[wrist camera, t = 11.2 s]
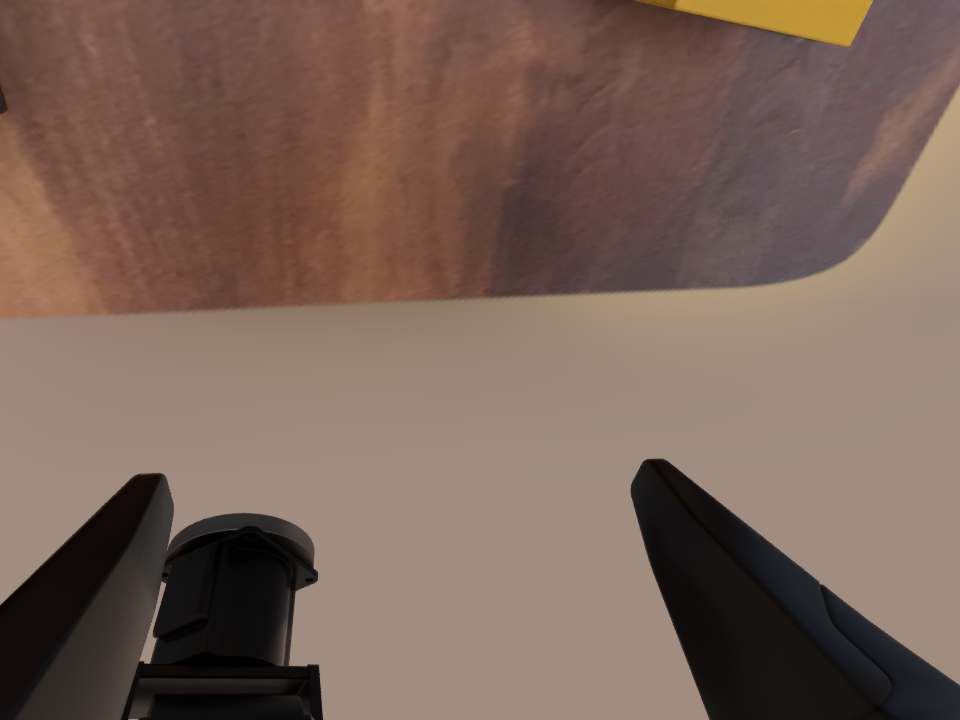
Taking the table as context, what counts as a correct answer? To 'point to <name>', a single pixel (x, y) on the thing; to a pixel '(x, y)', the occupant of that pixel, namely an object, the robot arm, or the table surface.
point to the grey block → (2, 104)
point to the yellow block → (784, 15)
